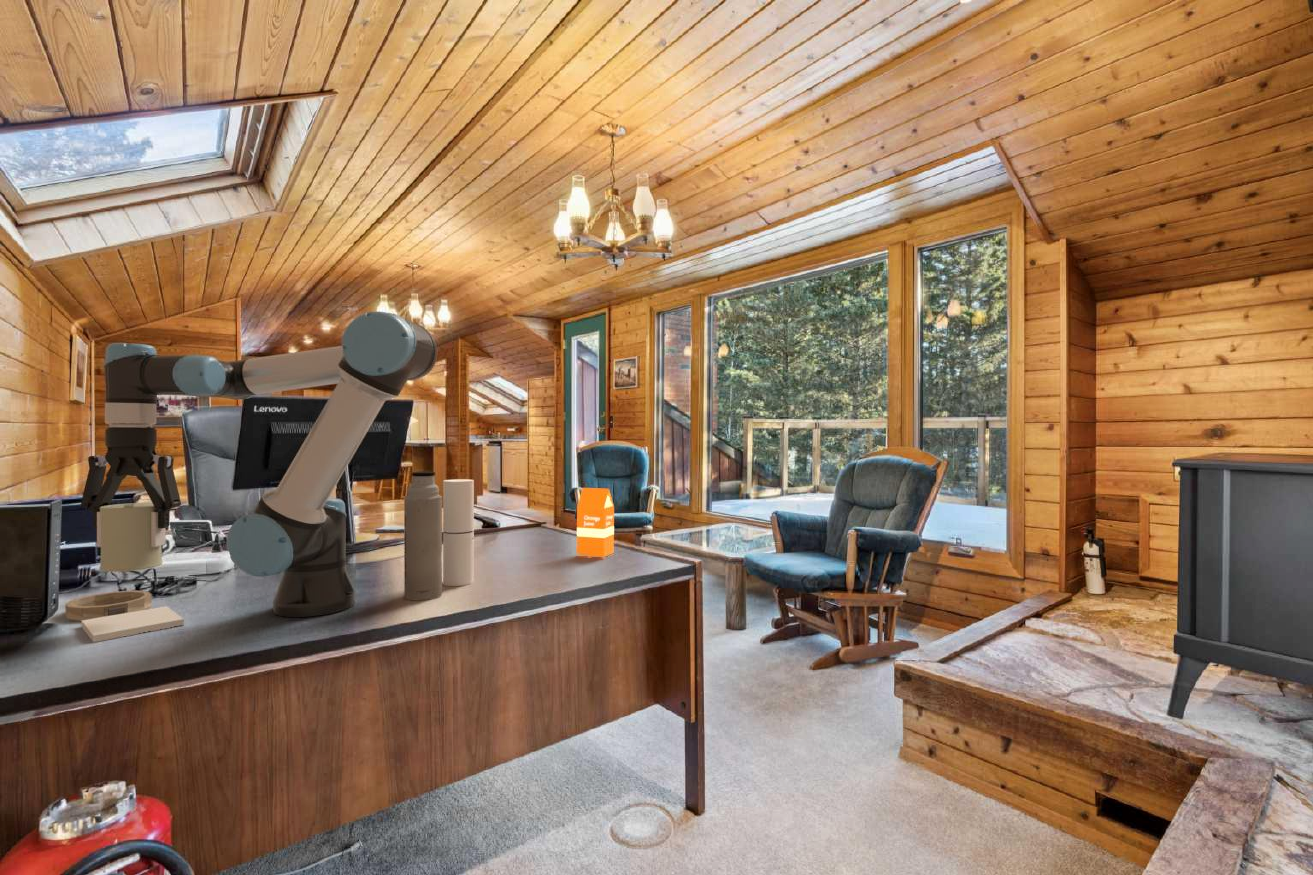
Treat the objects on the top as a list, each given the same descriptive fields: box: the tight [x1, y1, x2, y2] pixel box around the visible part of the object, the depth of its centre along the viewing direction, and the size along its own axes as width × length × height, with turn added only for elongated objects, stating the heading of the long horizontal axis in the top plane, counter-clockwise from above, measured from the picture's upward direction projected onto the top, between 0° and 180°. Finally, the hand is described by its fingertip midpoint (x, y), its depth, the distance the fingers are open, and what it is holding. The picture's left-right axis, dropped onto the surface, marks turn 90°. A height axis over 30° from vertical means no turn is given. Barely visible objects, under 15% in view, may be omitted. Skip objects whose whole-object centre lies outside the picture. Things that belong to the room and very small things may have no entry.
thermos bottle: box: [403, 470, 443, 601], centre depth 144 cm, size 8×8×28 cm
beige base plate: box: [80, 606, 185, 643], centre depth 121 cm, size 13×13×1 cm
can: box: [99, 502, 163, 573], centre depth 121 cm, size 9×9×12 cm
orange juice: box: [576, 487, 615, 557], centre depth 191 cm, size 8×9×20 cm
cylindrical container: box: [442, 478, 475, 587], centre depth 156 cm, size 7×7×25 cm
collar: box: [64, 589, 152, 622], centre depth 131 cm, size 16×13×2 cm
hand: (131, 545), depth 121 cm, fingers closed on can, 9 cm apart
